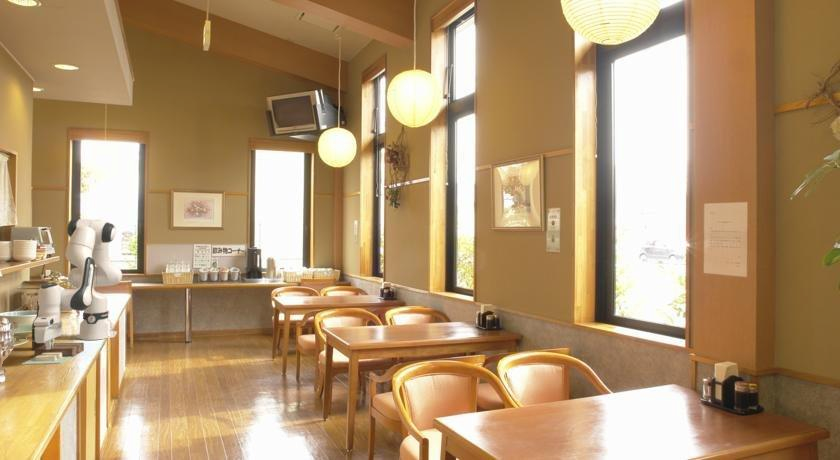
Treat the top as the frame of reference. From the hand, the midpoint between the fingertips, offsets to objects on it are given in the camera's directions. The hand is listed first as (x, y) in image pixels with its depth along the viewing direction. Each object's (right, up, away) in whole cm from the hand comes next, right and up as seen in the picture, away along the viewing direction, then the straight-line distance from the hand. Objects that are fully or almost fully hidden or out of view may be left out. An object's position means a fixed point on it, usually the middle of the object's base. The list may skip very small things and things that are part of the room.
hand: (49, 349), depth 271 cm
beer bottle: (-18, -5, +22) cm, 29 cm away
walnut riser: (-2, -5, +11) cm, 12 cm away
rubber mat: (0, -5, -2) cm, 6 cm away
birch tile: (0, -5, 0) cm, 5 cm away
